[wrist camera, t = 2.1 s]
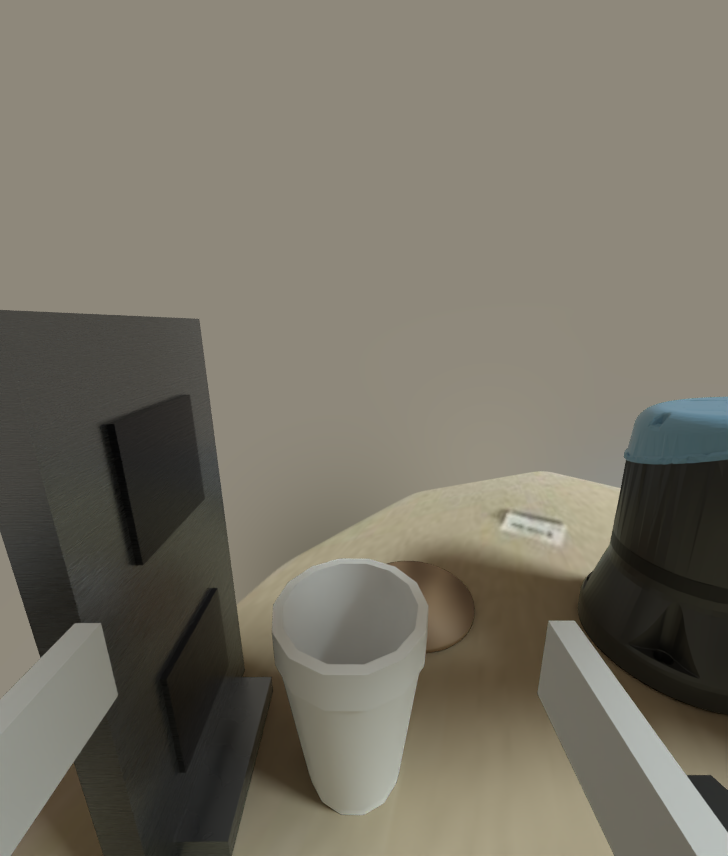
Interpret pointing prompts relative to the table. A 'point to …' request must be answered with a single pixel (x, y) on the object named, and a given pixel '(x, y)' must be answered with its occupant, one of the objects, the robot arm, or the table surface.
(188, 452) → the post
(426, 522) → the table surface
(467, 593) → the coaster
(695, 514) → the robot arm
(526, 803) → the table surface
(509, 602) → the table surface
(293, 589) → the foam cup
